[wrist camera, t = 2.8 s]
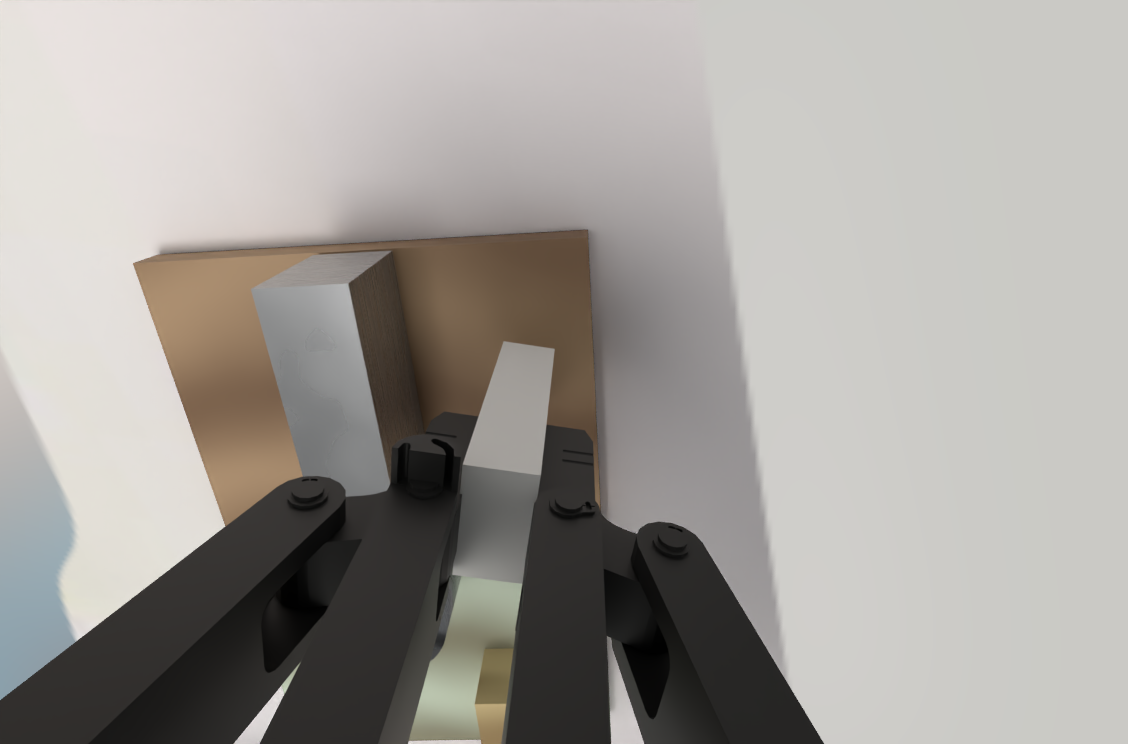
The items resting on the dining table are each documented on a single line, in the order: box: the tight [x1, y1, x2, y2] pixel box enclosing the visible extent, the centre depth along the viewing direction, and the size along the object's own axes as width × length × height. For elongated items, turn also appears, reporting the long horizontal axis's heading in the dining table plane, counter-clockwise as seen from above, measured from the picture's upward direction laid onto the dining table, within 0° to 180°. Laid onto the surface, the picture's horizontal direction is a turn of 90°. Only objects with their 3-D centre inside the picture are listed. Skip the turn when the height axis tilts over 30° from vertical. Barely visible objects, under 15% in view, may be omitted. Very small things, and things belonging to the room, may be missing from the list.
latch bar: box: [251, 251, 461, 661], centre depth 19 cm, size 13×4×4 cm, turn 4°
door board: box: [133, 230, 611, 744], centre depth 22 cm, size 24×14×4 cm, turn 4°
